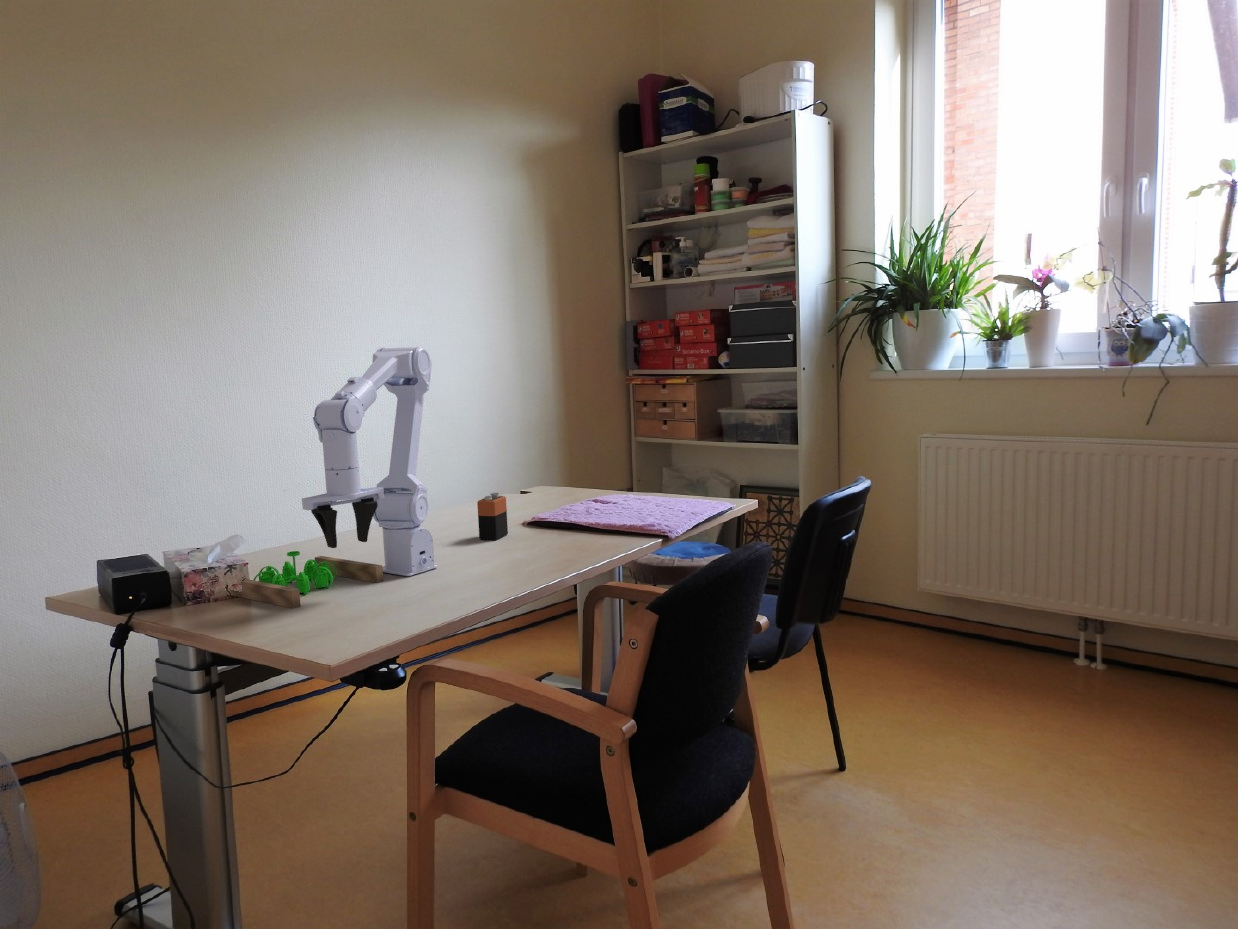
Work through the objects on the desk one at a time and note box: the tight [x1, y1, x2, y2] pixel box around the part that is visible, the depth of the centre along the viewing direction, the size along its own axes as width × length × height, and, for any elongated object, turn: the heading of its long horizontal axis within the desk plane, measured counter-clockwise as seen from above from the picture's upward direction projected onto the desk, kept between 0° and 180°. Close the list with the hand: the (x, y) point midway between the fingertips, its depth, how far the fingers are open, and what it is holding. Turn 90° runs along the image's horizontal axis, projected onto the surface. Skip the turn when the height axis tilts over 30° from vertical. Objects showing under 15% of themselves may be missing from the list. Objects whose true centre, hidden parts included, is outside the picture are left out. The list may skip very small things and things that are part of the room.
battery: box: [476, 492, 509, 542], centre depth 205 cm, size 4×7×10 cm, turn 162°
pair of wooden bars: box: [230, 555, 384, 609], centre depth 167 cm, size 18×20×3 cm
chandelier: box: [253, 550, 337, 595], centre depth 168 cm, size 15×15×7 cm
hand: (347, 544), depth 159 cm, fingers open, 5 cm apart
